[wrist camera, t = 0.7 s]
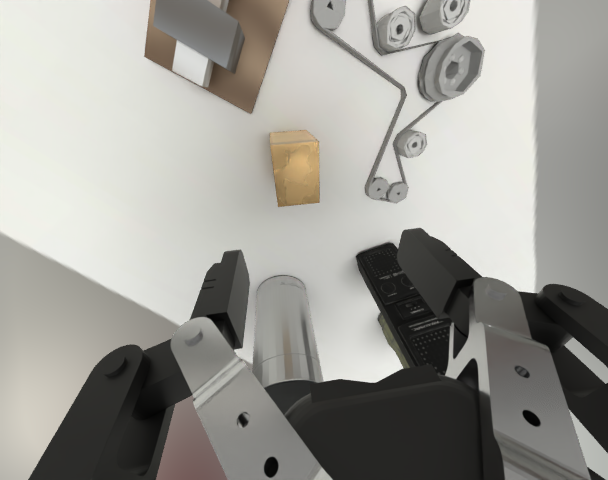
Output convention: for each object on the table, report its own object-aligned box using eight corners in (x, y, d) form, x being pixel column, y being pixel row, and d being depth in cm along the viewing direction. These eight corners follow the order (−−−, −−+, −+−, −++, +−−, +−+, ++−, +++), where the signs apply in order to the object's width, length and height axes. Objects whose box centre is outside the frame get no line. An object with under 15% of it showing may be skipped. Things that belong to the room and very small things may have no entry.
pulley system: (452, -139, 18) (291, -35, 19) (508, -203, 14) (301, -67, 15) (456, 163, 34) (368, 209, 35) (483, 172, 30) (382, 223, 31)
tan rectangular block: (308, 178, 30) (319, 202, 23) (275, 181, 29) (278, 206, 23) (306, 129, 26) (318, 141, 20) (269, 132, 26) (270, 145, 19)
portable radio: (398, 237, 38) (555, 410, 17) (400, 262, 41) (534, 431, 20) (354, 253, 38) (456, 438, 18) (360, 276, 42) (451, 453, 21)
